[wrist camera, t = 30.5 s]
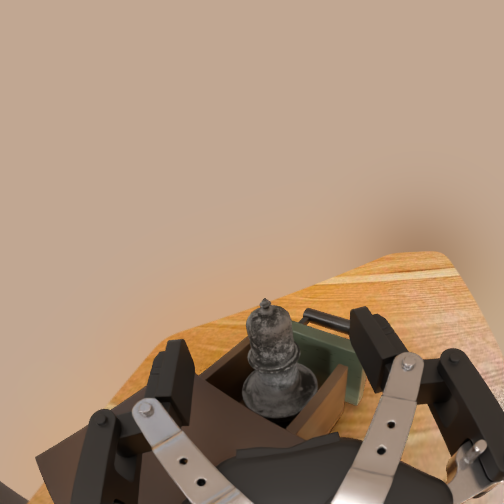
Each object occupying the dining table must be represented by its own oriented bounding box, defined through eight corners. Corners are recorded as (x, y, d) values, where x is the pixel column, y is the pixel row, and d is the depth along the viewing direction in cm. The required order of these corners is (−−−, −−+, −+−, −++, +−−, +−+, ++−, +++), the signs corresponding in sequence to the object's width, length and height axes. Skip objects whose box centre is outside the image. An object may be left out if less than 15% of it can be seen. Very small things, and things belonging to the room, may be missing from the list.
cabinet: (209, 420, 24) (179, 361, 20) (310, 484, 16) (309, 440, 13) (96, 501, 14) (34, 456, 11) (178, 594, 7) (113, 593, 3)
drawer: (299, 335, 32) (294, 286, 29) (382, 364, 25) (390, 311, 23) (178, 444, 20) (147, 402, 18) (269, 514, 14) (254, 492, 11)
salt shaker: (237, 406, 23) (201, 297, 18) (291, 376, 25) (276, 265, 20) (273, 451, 18) (245, 346, 13) (332, 413, 20) (335, 297, 16)
